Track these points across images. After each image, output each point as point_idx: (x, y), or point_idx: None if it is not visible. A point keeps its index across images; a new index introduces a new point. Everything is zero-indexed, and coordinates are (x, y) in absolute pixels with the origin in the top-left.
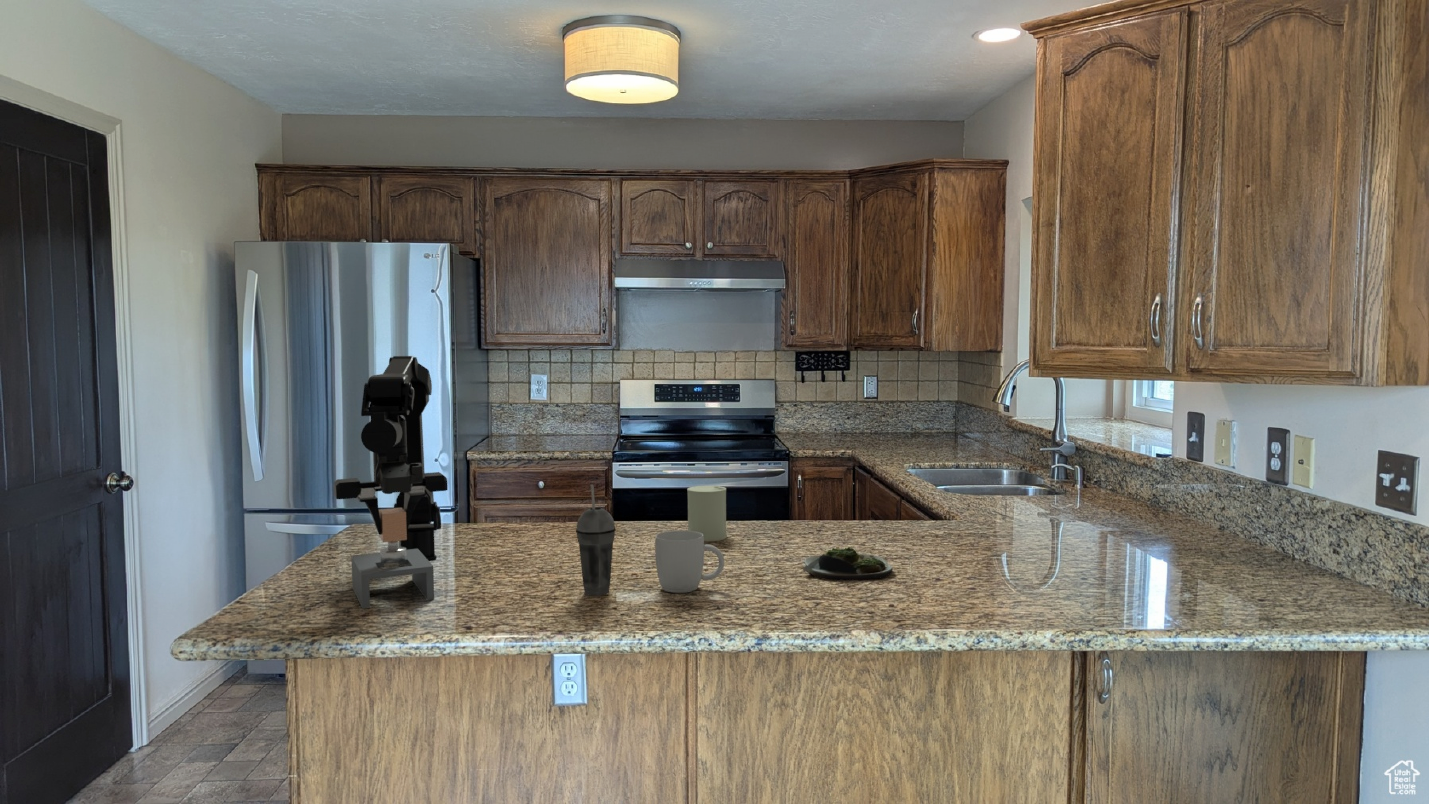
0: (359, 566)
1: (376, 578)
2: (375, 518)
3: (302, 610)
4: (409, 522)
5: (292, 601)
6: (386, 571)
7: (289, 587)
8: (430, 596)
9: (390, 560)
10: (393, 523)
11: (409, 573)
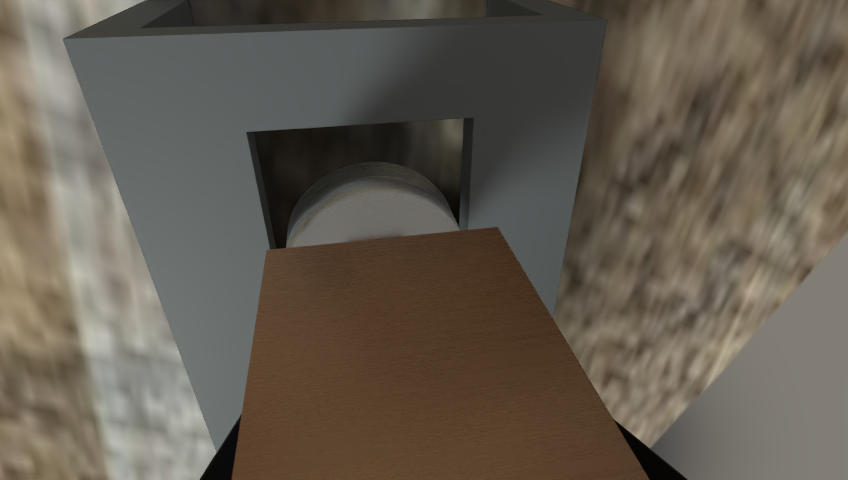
0: (555, 242)
1: (498, 17)
2: (656, 475)
3: (722, 99)
4: (209, 465)
5: (699, 237)
6: (440, 30)
7: (647, 384)
8: (163, 2)
9: (403, 172)
10: (430, 375)
11: (271, 24)
